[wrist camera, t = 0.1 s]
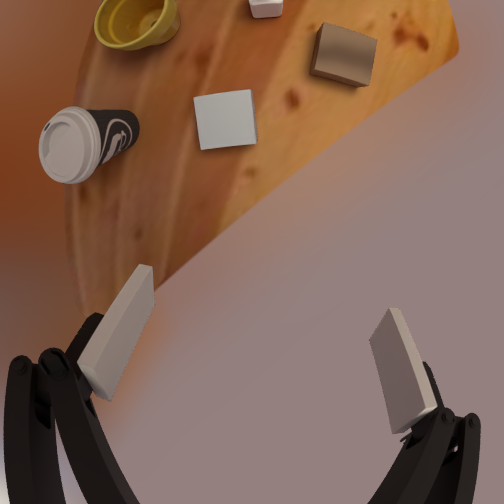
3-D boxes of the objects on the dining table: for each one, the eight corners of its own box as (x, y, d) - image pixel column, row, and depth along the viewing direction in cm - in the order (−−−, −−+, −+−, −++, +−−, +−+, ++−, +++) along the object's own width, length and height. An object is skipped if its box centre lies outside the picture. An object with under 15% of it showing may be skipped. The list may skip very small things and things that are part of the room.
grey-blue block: (203, 98, 33) (193, 97, 29) (253, 91, 32) (250, 89, 28) (209, 144, 36) (200, 149, 32) (258, 139, 36) (256, 143, 31)
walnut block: (317, 31, 26) (323, 22, 22) (365, 46, 27) (377, 39, 22) (309, 73, 30) (314, 69, 26) (357, 87, 30) (368, 85, 26)
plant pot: (120, 55, 29) (83, 49, 20) (139, 0, 23) (108, -18, 15) (180, 59, 30) (152, 48, 21) (201, 0, 24) (180, -25, 16)
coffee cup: (142, 92, 32) (81, 95, 19) (153, 151, 37) (99, 179, 24) (93, 111, 33) (28, 126, 21) (105, 164, 38) (46, 196, 25)
